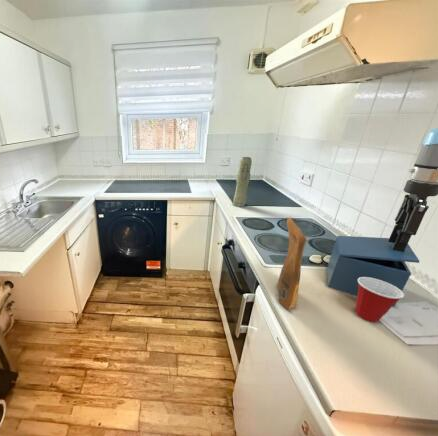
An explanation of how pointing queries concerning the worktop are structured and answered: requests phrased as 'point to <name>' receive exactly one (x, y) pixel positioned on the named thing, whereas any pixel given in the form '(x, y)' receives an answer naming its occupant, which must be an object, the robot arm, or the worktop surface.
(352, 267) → the blue hollow box
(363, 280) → the plastic cup
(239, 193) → the olive green rough post
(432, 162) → the robot arm
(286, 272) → the pancake mix bag
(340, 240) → the lid
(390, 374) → the worktop surface
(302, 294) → the worktop surface
